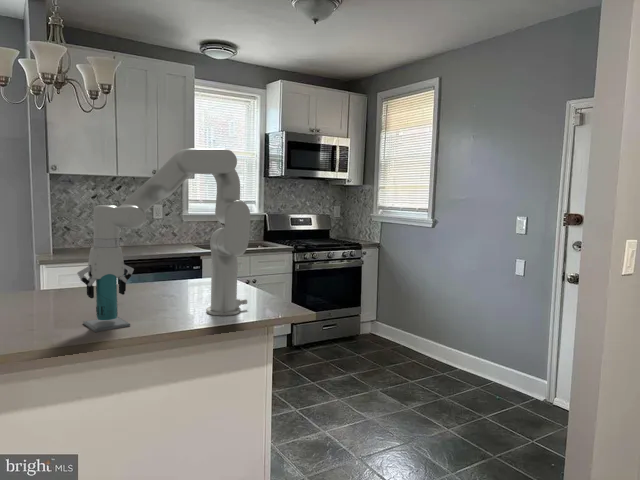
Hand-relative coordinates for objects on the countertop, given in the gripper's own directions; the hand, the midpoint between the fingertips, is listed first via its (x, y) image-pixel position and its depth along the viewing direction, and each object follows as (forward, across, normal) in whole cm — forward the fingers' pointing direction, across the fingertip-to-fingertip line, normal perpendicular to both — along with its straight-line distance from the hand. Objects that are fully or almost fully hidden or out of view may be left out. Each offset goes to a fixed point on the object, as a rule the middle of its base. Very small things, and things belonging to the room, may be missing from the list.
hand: (106, 295), depth 152 cm
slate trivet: (+10, 0, 0) cm, 10 cm away
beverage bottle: (+9, 0, 0) cm, 9 cm away
